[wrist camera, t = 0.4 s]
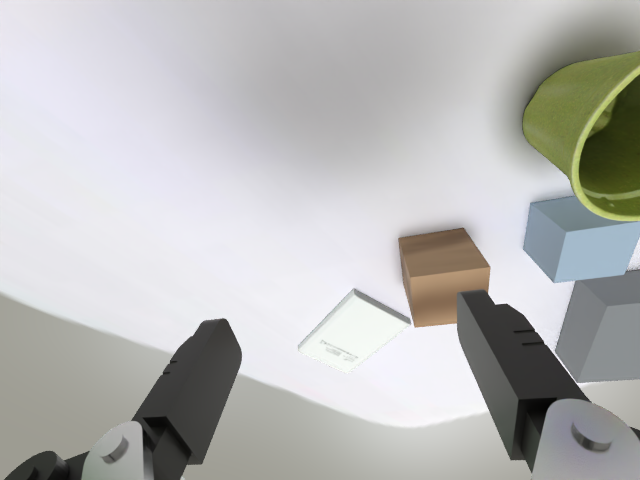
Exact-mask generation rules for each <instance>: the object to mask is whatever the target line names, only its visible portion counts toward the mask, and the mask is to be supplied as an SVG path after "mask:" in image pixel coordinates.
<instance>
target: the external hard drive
mask: <svg viewBox="0 0 640 480" xmlns="http://www.w3.org/2000/svg"><path fill="white" fill-rule="evenodd" d="M410 325H411V321H410V319H409V318H407V317H405V316H403V315H402V314H400V313H398V312H396V311H394V310H392V309H390V308H389V307H387V306H385V305H383V304H381V303H379V302H378V301H376V300H374V299H372V298H370V297H368V296H367V295H365V294H363V293H361V292H359V291H357V290H356V289H353V290H352V291H351V292H350V293H349V294H348V295H347V296H346V297H345V298H344V299H343V300H342V301H341V302H340V303H339V304H338V305H337V306H336V307H335V308H334V309H333V310H332V311H331V312H330V313H329V315H328V316H327V317H326V318H325V319H324V320H323V321H322V322H321V323H320V324H319V325H318V326H317V327H316V328H315V329H314V330H313V331H312V332H311V333H310V334H309V335H308V336H307V337H306V338H305V339H304V340H303V341H302V342H301V343H300V344H299V345H298V351H299V352H300V353H301V354H304V355H306V356H308V357H310V358H313V359H315V360H317V361H319V362H322V363H324V364H326V365H328V366H330V367H333V368H335V369H337V370H339V371H342V372H344V373H350V372H351V371H352V370H354V369H355V368H356V367H358V366H359V365H360V364H361V363H363V362H364V361H365V360H367V359H368V358H369V357H370V356H372V355H373V354H374V353H376V352H377V351H378V350H379V349H381V348H382V347H383V346H385V345H386V344H387V343H388V342H390V341H391V340H392V339H394V338H395V337H396V336H397V335H399V334H400V333H401V332H402V331H404V330H405V329H406V328H407V327H409V326H410Z"/></svg>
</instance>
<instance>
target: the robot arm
mask: <svg viewBox="0 0 640 480" xmlns="http://www.w3.org/2000/svg"><path fill="white" fill-rule="evenodd" d="M457 331H458V336H459V340H460V344H461V347H462V349H463V351H464V354H465V356H466V358H467V361H468V363H469V365H470V368H471V370H472V372H473V374H474V377H475V379H476V381H477V384H478V386H479V388H480V391H481V393H482V395H483V398H484V400H485V402H486V404H487V407H488V409H489V411H490V414H491V416H492V418H493V420H494V423H495V425H496V427H497V430H498V432H499V434H500V437H501V439H502V441H503V443H504V446H505V448H506V450H507V453H508V455H509V457H510V459H511V460H526V462H527V464H528V467H529V469H530V471H531V473H532V476H531V480H640V430H637V429H635V428H632V427H629V426H628V425H627V424H626V423H625V422H623V421H622V420H621V419H620V418H619V417H617V416H616V415H614V414H613V413H611V412H610V411H608V410H606V409H605V408H603V407H601V406H598V405H596V404H593V403H592V402H591V401H590V400H589V399H588V398H587V397H586V396H585V395H584V393H583V392H582V391H581V389H580V388H579V387H578V385H577V384H576V383H575V381H574V380H573V379H572V378H571V376H570V375H569V374H568V372H567V371H566V370H565V368H564V367H563V366H562V364H561V363H560V362H559V361H558V359H557V358H556V357H555V355H554V354H553V353H552V351H551V350H550V349H549V348H548V346H547V345H545V344H544V341H543V340H542V338H541V337H540V336H539V334H538V333H537V332H535V329H534V328H533V327H532V325H531V324H530V323H529V321H528V320H527V319H526V318H525V316H524V315H523V314H521V313H520V312H518V311H517V310H515V309H514V308H512V307H511V306H509V305H508V304H499V305H495V304H494V302H493V301H492V299H491V298H490V296H489V295H488V293H487V292H486V291H485V290H484V289H479V290H470V291H461V292H458V293H457ZM241 360H242V353H241V348H240V346H239V344H238V342H237V339H236V337H235V335H234V333H233V331H232V329H231V327H230V325H229V323H228V321H227V320H226V319H214V320H206V321H203V322H202V323H201V324H200V326H199V327H198V329H197V331H196V332H195V334H194V335H193V336H191V337H190V338H189V339H188V340H187V341H185V342H184V343H183V344H182V345H181V346H180V347H179V348H178V350H177V351H176V353H175V354H174V356H173V357H172V359H171V360H170V364H168V365H167V367H166V368H165V370H164V371H163V375H161V376H160V377H159V379H158V380H157V382H156V384H155V385H154V386H153V388H152V389H151V391H150V393H149V394H148V396H147V397H146V399H145V400H144V402H143V403H142V405H141V406H140V408H139V409H138V411H137V413H136V414H135V416H134V417H133V419H132V420H131V421H128V422H124V423H122V424H120V425H117V426H116V427H114V428H112V429H111V430H110V431H108V432H107V433H106V434H105V435H104V436H102V437H101V438H100V439H99V440H98V441H97V443H96V444H95V445H94V446H93V448H92V449H91V450H90V451H88V452H86V453H83V454H80V455H77V456H75V457H72V458H70V459H67V460H62V459H61V458H60V457H59V456H58V455H57V454H56V453H55V452H53V451H45V452H42V453H39V454H37V455H35V456H33V457H31V458H30V459H28V460H26V461H25V462H23V463H22V464H21V465H20V466H18V467H17V468H16V469H15V470H14V471H12V472H11V473H10V474H9V475H8V476H7V477H6V478H5V479H4V480H185V479H184V477H183V476H182V475H183V472H184V470H185V467H186V465H193V464H194V465H195V464H202V463H203V460H204V458H205V455H206V453H207V450H208V447H209V445H210V442H211V439H212V437H213V435H214V432H215V429H216V427H217V424H218V422H219V419H220V417H221V414H222V411H223V409H224V406H225V404H226V401H227V398H228V396H229V393H230V390H231V388H232V386H233V383H234V381H235V378H236V375H237V373H238V370H239V368H240V365H241Z"/></svg>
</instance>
